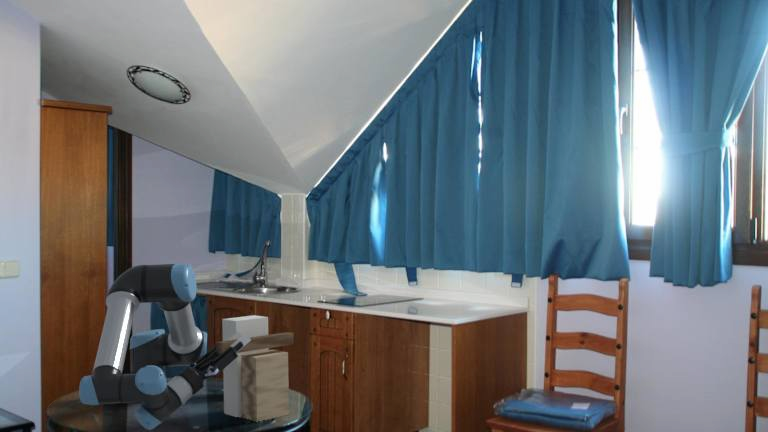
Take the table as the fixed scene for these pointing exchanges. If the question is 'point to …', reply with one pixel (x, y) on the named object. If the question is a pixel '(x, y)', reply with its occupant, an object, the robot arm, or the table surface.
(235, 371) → the white block
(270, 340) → the walnut bar
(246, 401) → the oak block
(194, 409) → the table surface
